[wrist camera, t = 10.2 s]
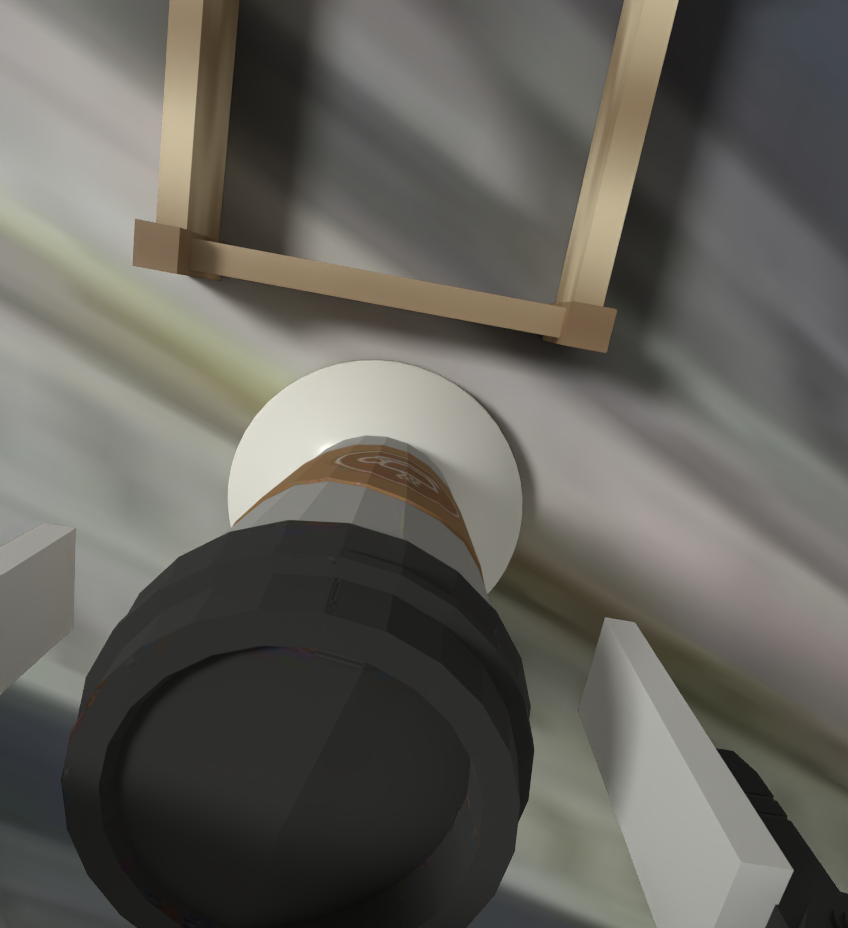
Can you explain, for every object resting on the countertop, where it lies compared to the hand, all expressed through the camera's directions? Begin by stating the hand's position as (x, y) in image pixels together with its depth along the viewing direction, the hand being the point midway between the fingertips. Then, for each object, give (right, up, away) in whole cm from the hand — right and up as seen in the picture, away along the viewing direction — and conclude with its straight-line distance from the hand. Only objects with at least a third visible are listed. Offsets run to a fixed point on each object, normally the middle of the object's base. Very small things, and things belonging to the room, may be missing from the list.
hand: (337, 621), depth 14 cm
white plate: (0, +2, +10) cm, 10 cm away
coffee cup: (0, +2, +10) cm, 10 cm away
